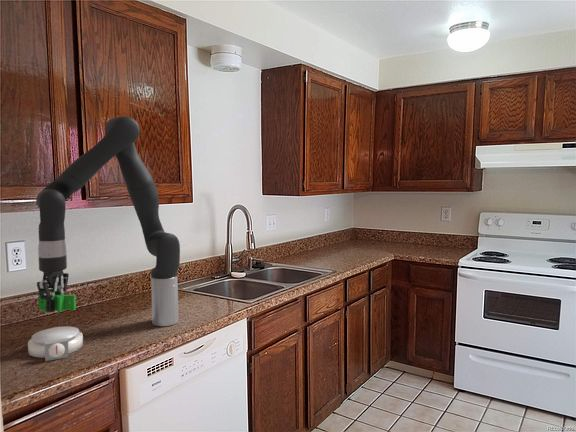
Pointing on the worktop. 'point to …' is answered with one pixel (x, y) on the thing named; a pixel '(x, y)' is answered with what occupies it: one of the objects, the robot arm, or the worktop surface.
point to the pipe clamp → (59, 303)
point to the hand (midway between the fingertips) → (54, 309)
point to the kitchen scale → (55, 343)
